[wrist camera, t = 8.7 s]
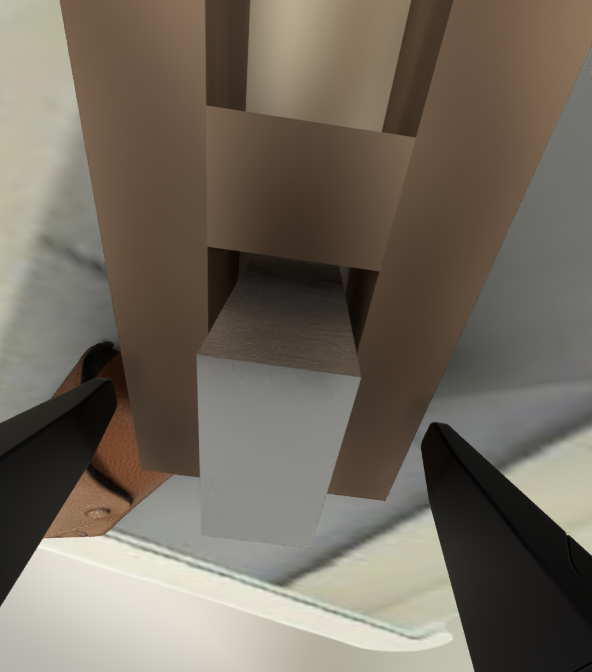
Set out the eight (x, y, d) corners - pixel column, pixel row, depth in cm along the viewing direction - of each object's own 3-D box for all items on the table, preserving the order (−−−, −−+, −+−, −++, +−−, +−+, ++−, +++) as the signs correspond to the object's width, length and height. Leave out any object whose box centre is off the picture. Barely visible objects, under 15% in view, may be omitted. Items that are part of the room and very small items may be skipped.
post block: (636, -392, 6) (1261, -1438, 2) (368, 414, 18) (385, 500, 13) (132, -491, 6) (-269, -1880, 2) (184, 389, 17) (141, 470, 13)
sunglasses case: (105, 541, 26) (1, 618, 20) (61, 467, 27) (-49, 518, 21) (239, 422, 19) (137, 486, 13) (170, 327, 20) (49, 345, 14)
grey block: (336, 251, 13) (360, 377, 6) (312, 373, 16) (310, 548, 9) (260, 240, 13) (196, 354, 6) (250, 364, 16) (201, 535, 9)
